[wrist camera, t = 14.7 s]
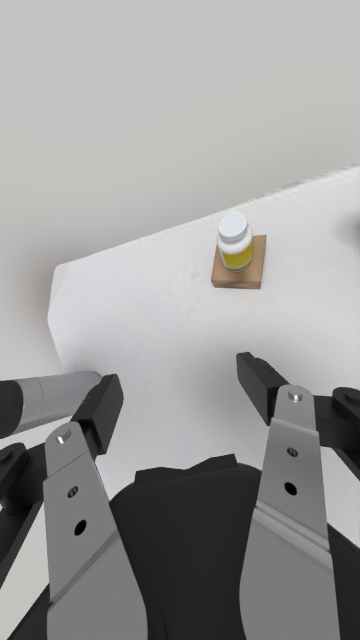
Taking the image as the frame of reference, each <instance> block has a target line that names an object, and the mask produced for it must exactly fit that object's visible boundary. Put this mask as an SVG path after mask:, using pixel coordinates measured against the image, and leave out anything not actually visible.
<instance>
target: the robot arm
mask: <svg viewBox="0 0 360 640" xmlns="http://www.w3.org/2000/svg"><path fill="white" fill-rule="evenodd" d="M236 358H237V374H238V379H239V382H240V384H241V385H242V387H243V389H244V390H245V392H246V393H247V395H248V396H249V398H250V400H251V401H252V403H253V404H254V406H255V407H256V409H257V411H258V412H259V414H260V415H261V417H262V419H263V420H264V422H265V423H266V425H267V426H270V430H269V436H268V441H267V447H266V452H265V458H264V464H263V469H262V471H260V470H259V469H257V468H255V467H252V466H249V465H246V464H242V463H237V461H236V458H235V455H234V454H229V455H224V456H218V457H213V458H209V459H207V460H205V461H203V462H201V463H199V464H197V465H195V466H193V467H191V468H189V469H186V470H182V469H174V468H165V467H157V468H151V469H146V470H140V471H136V474H135V481H134V482H133V483H131V484H129V485H128V486H126V487H125V488H123V489H122V490H121V491H120V492H119V493H117V494H116V495H115V496H114V497H113V498H112V500H111V501H109V498H108V496H107V493H106V490H105V488H104V485H103V482H102V480H101V477H100V474H99V472H98V469H97V467H96V464H95V459H96V457H97V455H103V454H106V452H107V449H108V446H109V443H110V440H111V437H112V434H113V431H114V428H115V425H116V422H117V419H118V416H119V413H120V411H121V408H122V405H123V391H122V388H121V385H120V381H119V378H118V375H117V374H111V375H105V376H103V378H101V377H100V375H99V374H97V373H96V372H83V373H73V374H63V375H55V376H45V377H35V378H26V379H16V380H5V381H0V439H3V438H6V437H8V436H11V435H14V434H17V433H20V432H23V431H26V430H29V429H32V428H35V427H38V426H41V425H44V424H47V423H50V422H53V421H56V420H59V419H62V418H65V417H68V416H71V415H73V417H72V418H71V420H70V422H68V423H65V424H63V425H61V426H60V427H58V428H57V429H56V430H54V431H53V432H52V433H51V434H50V435H49V436H48V438H47V439H46V441H45V443H42V444H40V445H37V446H35V447H32V448H30V449H28V450H27V449H26V447H25V445H24V444H23V443H14V444H11V445H9V446H7V447H5V448H3V449H2V450H0V504H1V505H2V507H3V508H2V510H1V511H0V589H1V586H2V585H3V582H4V581H5V578H6V576H7V574H8V572H9V570H10V568H11V566H12V564H13V562H14V560H15V558H16V556H17V554H18V552H19V550H20V548H21V546H22V544H23V542H24V540H25V538H26V536H27V534H28V532H29V530H30V528H31V526H32V524H33V522H34V520H35V518H36V516H37V513H38V512H39V510H40V508H41V505H42V503H43V502H44V509H45V524H46V539H47V554H48V567H49V568H48V569H49V584H48V585H47V586H46V588H45V589H44V590H43V592H42V593H41V594H40V596H39V597H38V598H37V600H36V601H35V603H34V604H33V605H32V607H31V608H30V609H29V611H28V612H27V613H26V615H25V616H24V617H23V619H22V620H21V622H20V623H19V624H18V625H17V627H16V628H15V630H14V631H13V632H12V634H11V635H10V636H9V638H8V639H7V640H360V548H358V547H357V546H356V545H355V544H353V543H352V542H351V541H350V540H348V539H347V538H346V537H345V536H343V535H342V534H341V533H340V532H338V531H337V530H336V529H335V528H333V527H332V526H331V525H330V524H328V523H327V520H326V509H325V498H324V487H323V475H322V464H321V453H320V446H323V447H330V448H332V449H333V450H334V451H335V452H336V454H337V455H338V456H339V457H340V458H341V460H342V461H343V462H344V463H345V464H346V465H347V467H348V468H349V469H350V470H351V471H352V473H353V474H354V475H355V476H356V477H357V478H358V480H359V481H360V391H359V390H356V389H353V388H347V387H339V388H336V389H334V390H333V394H332V397H330V396H315V395H312V394H311V393H310V392H309V391H308V390H307V389H305V388H303V387H300V386H297V385H291V384H289V383H288V382H287V381H286V380H285V379H284V378H283V377H282V376H281V375H280V374H279V373H278V372H277V371H275V369H274V368H272V367H271V366H270V365H269V364H268V363H267V362H266V361H264V360H262V359H260V358H254V357H253V356H252V354H251V353H250V352H244V353H238V354H237V355H236Z"/></svg>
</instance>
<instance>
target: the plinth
mask: <svg viewBox="0 0 360 640" xmlns="http://www.w3.org/2000/svg"><path fill="white" fill-rule="evenodd" d="M266 236H267V235H260V236H253V258H252V262H251V264H250V265H249V266H248V267H247V268H246V269H244V270H242V271H239V272H232V271H229V270H227V269H226V268H225V266H224V264H223V261H222V258H221V255H220V251H219V248H218V245H217V247H216V253H215V259H214V265H213V271H212V277H211V281H212V283H213V285H214V287H215V288H240V289H260V284H261V276H262V269H263V261H264V253H265V245H266Z"/></svg>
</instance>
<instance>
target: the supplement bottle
mask: <svg viewBox="0 0 360 640" xmlns="http://www.w3.org/2000/svg"><path fill="white" fill-rule="evenodd" d="M218 231H219V233H218V236H217V245H218V248H219V251H220V255H221V258H222V261H223V264H224V266H225V268H226V269H227V270H229V271H232V272H239V271H242V270H244V269H246V268H247V267H248V266H249V265H250V264H251V262H252V258H253V231H252V228H251V226H250V225H249V224H248V221H247V217H246V216H245V214H243V213H242V212H238V211H235V212H230V213H228V214H226V215H225V216H224V217H223V218H222V219H221V220H220V222H219V225H218Z"/></svg>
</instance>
